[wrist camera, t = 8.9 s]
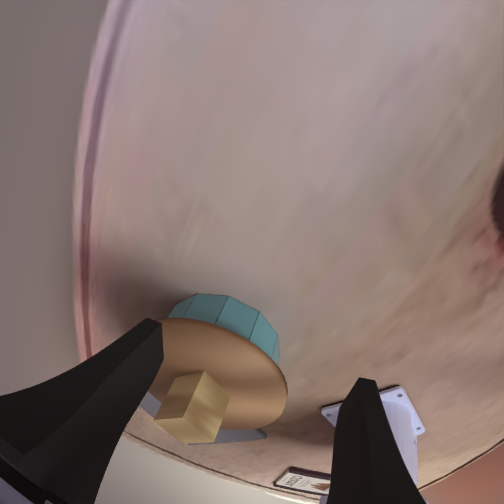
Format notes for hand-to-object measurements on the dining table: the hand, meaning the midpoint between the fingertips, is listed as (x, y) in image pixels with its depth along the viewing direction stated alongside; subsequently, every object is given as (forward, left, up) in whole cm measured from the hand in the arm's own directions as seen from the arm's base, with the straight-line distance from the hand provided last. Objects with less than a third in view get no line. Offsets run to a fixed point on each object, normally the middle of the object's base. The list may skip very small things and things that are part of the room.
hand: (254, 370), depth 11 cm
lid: (-5, +10, -6) cm, 13 cm away
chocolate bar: (-38, +15, -11) cm, 42 cm away
